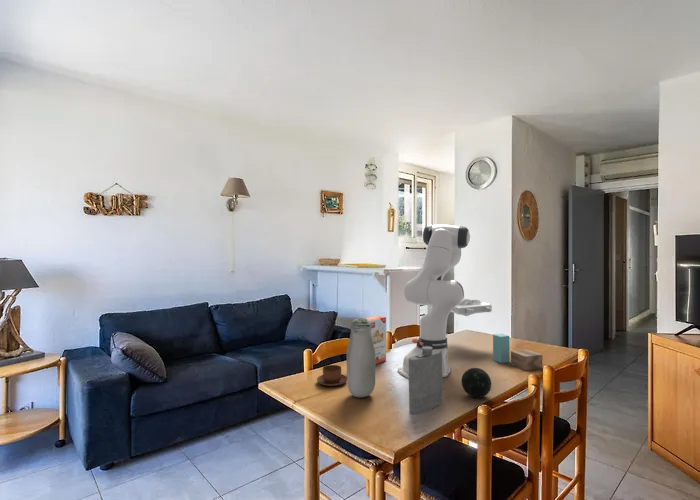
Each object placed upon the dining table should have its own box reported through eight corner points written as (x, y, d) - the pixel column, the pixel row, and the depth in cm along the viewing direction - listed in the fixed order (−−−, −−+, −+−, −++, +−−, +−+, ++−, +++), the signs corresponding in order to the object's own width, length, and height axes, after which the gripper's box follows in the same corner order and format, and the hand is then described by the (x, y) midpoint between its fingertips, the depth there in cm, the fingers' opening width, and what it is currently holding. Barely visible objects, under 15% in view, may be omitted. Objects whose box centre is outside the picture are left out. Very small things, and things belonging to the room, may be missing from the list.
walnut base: (525, 370, 166) (525, 356, 166) (510, 364, 174) (510, 351, 174) (542, 368, 169) (542, 354, 169) (527, 362, 177) (527, 349, 177)
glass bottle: (359, 403, 133) (358, 322, 133) (342, 394, 141) (341, 318, 141) (381, 396, 139) (380, 318, 139) (363, 388, 147) (362, 314, 147)
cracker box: (367, 368, 172) (366, 320, 172) (357, 365, 177) (356, 319, 176) (387, 360, 182) (386, 316, 182) (377, 358, 187) (376, 315, 186)
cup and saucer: (311, 382, 155) (310, 367, 155) (334, 376, 163) (334, 361, 163) (329, 391, 146) (329, 374, 146) (353, 383, 153) (353, 368, 153)
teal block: (500, 363, 176) (500, 336, 176) (493, 360, 181) (492, 334, 181) (509, 362, 178) (509, 335, 178) (501, 359, 182) (501, 333, 182)
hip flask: (436, 398, 137) (435, 341, 136) (446, 402, 134) (445, 343, 133) (407, 412, 126) (406, 350, 126) (417, 415, 123) (416, 352, 123)
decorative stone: (467, 389, 145) (466, 362, 145) (494, 395, 139) (494, 367, 139) (457, 398, 137) (457, 369, 137) (486, 404, 131) (486, 374, 131)
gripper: (448, 302, 201) (464, 306, 188) (480, 299, 208) (498, 303, 195) (448, 314, 201) (464, 319, 188) (481, 311, 208) (499, 315, 195)
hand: (482, 311), depth 191 cm, fingers open, 8 cm apart
